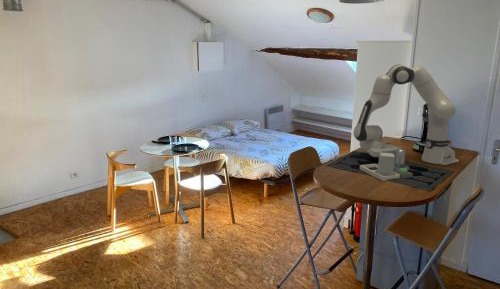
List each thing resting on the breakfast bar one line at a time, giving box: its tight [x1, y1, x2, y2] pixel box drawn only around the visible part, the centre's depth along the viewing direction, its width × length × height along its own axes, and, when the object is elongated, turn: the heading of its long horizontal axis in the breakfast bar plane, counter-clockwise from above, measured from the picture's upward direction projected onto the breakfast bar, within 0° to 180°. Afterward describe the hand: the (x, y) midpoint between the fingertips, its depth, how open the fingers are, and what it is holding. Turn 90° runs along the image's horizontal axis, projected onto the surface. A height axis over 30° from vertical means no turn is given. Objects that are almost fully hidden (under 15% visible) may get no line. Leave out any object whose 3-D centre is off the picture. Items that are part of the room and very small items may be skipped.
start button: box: [399, 168, 408, 174], centre depth 213 cm, size 4×4×4 cm
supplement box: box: [377, 153, 396, 176], centre depth 212 cm, size 7×7×13 cm
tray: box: [394, 163, 410, 171], centre depth 227 cm, size 8×8×2 cm
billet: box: [394, 148, 407, 168], centre depth 226 cm, size 5×5×11 cm
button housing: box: [394, 170, 414, 180], centre depth 213 cm, size 7×7×3 cm
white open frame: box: [359, 163, 401, 182], centre depth 218 cm, size 21×11×2 cm, turn 20°
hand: (393, 155), depth 231 cm, fingers open, 8 cm apart
